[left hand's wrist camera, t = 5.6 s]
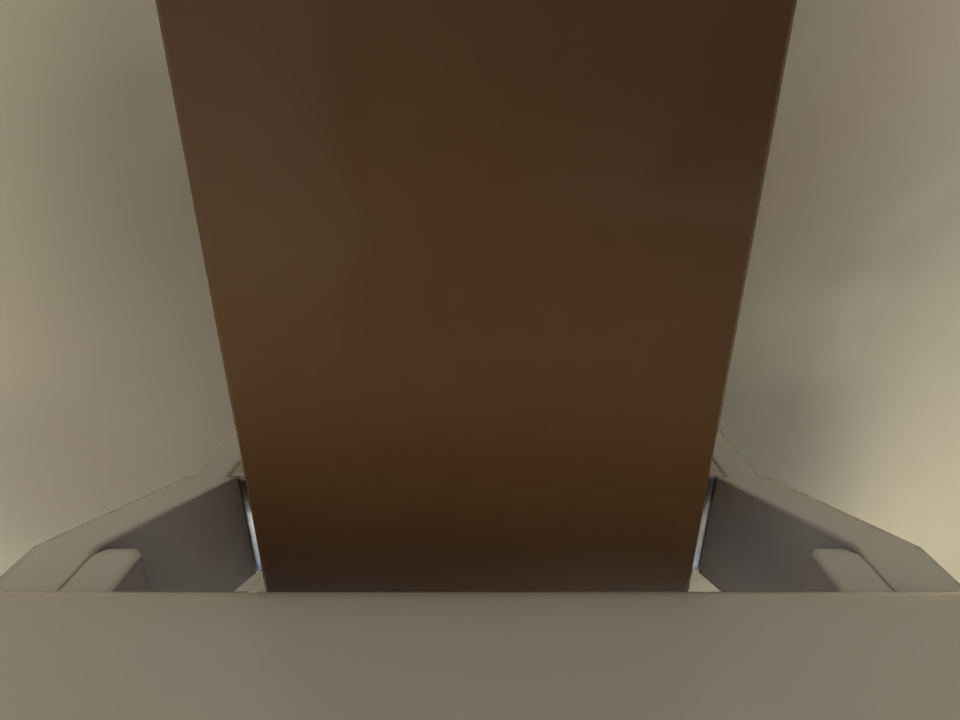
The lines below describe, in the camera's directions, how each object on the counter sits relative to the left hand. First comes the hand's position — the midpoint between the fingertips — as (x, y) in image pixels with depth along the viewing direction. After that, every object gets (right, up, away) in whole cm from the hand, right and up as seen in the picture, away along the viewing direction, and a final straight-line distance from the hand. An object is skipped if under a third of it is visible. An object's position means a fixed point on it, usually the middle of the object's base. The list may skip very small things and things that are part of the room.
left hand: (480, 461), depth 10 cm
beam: (0, -18, +10) cm, 20 cm away
